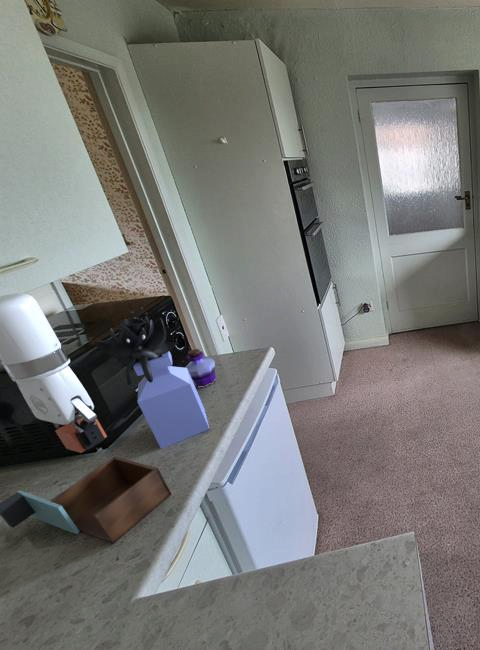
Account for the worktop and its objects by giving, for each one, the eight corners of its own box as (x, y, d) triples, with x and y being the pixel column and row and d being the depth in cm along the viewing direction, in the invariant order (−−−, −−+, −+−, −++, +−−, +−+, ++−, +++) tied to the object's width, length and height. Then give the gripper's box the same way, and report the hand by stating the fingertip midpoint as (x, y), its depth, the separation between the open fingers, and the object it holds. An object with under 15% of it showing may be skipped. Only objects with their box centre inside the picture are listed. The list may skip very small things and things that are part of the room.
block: (66, 449, 74) (54, 430, 72) (92, 433, 78) (82, 415, 76) (81, 453, 72) (69, 434, 70) (107, 436, 76) (97, 418, 74)
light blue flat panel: (54, 551, 71) (32, 522, 68) (12, 533, 76) (-10, 505, 73) (80, 531, 75) (59, 503, 72) (38, 515, 79) (18, 488, 76)
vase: (146, 458, 93) (79, 331, 79) (147, 433, 102) (86, 315, 88) (212, 430, 101) (161, 310, 87) (207, 410, 109) (160, 297, 95)
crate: (113, 544, 73) (95, 516, 69) (69, 526, 77) (50, 500, 74) (171, 494, 82) (158, 468, 79) (129, 481, 87) (115, 456, 84)
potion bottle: (184, 389, 121) (170, 356, 116) (208, 374, 128) (195, 342, 123) (204, 392, 118) (190, 359, 113) (227, 377, 125) (215, 345, 120)
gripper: (-18, 369, 67) (36, 448, 74) (40, 380, 62) (93, 464, 69) (36, 348, 73) (81, 423, 81) (93, 356, 68) (135, 435, 75)
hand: (86, 441), depth 75 cm, fingers closed on block, 4 cm apart
